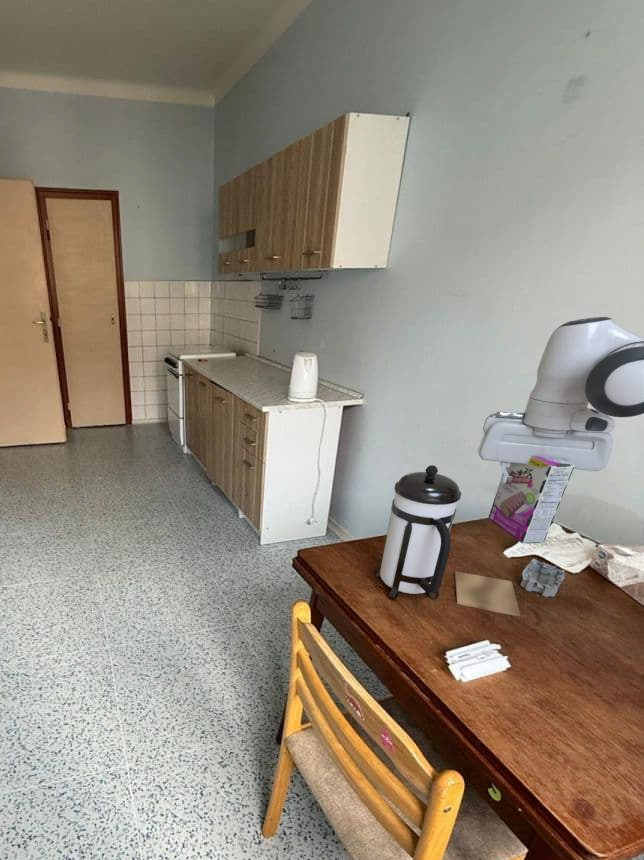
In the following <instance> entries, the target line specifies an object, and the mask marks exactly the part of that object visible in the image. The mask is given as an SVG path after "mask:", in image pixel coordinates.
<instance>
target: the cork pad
mask: <svg viewBox="0 0 644 860" xmlns="http://www.w3.org/2000/svg"><path fill="white" fill-rule="evenodd" d="M454 583H455V584H454V585H455V596H456V599H455V600H456V605H460V606H465V607H470V608H474V609H480V610H483V611H484V610H485V611H489V612H494V613H498V614H503V615H508V616H513V617H518V618H520V617H521V613H520V612H521V611H520V609H519V608H520V607H519V605H518V600H517V597H516V593H515V589H514V585H513V581H512V580H507V579H506V580H505V579H501V578H494V577H491V576H485V575H479V574H473V573H467V572H462V571H457V570H455V571H454Z"/></svg>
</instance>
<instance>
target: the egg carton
mask: <svg viewBox="0 0 644 860" xmlns="http://www.w3.org/2000/svg"><path fill="white" fill-rule="evenodd" d="M565 574H566V571H565V569H558V568H557V566H556V565H555V566H553V565H551V564H548V563H546V562H544V561H542V562H541V561H540V560H538V559H536V558H532V559H531V561H529V563H528V564H527V565H526V566H525V568H524V569H523V571H522V573H521V576H522V579H521V582H520V587H522V588H523V589H524V590H525V591H527V592H537V593H539V594H541V596H542V597H545V598H549V597H555V596H556V594H557V593H558V590H559V588H560V586H561V583H563V581H564V580H565V578H566V577H565Z"/></svg>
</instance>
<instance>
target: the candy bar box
mask: <svg viewBox="0 0 644 860" xmlns="http://www.w3.org/2000/svg"><path fill="white" fill-rule="evenodd" d="M574 467H575V465H574V464H573V463H570V462H568V461H566V460H563V459H557V458H549V457H540V456H532V457H531V458H530V461H529V462H528V464H519V463H511V464H510V467H509V468H507V467H506V470H507V472H508V473H511V474H512V475H513V479H512V480H511V481H512V483H511V484H503V483H502V477H503V473H502V475H501V477H500V480H499V485H498V487H497V490H496V492H495V496H494V499H493V502H492V506H491V508H490V511H489V514H488V517H487V519H488V520H489V521H490V522H491V523H493V524H494V525H495V526H497V527H498V528H500V529H501V530H503V531H504V532H505V533H507V535H510V536H511V537H512V538H514V539H515V540H517V541H518V542H519V543H520V544H526V545H527V544H544V543H545V541H546V539H547V536H548V533H549V532H550V529H551V526H552V524H553V521H554V518H555V516H556V514H557V511H558V509H559V506H560V504H561V501H562V499H563V496H564V493H565V491H566V489H567V486H568V484H569V482H570V480H571V479H570V478H571V476H572V474H573V472H572V471H574V470H575V469H574Z"/></svg>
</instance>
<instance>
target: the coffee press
mask: <svg viewBox="0 0 644 860" xmlns="http://www.w3.org/2000/svg"><path fill="white" fill-rule="evenodd" d="M437 467H438V466H436V465H428V466H427V467H426V468H425V471H415V472H414V471H413V472H410V473H407V474H405V475H403V476H401V478H400V479H398V481H397V482H396V483H395V484H394V492H395V493H394V498H393V499H392V503H391V507H390V508H391V509H390V510H391V513H390V517H389V521H388V526H387V527H388V528H387V532H386V537H385V541H384V542H385V543H384V547H383V553H382V556H381V557H382V558H381V562H380V566H379V568H378V569H377V570H375V571H374V573H373V575H374V576H375V577H376V578H380V579H381V580H382V582H383V583H384V584H385V585H386V586H387V587H389V588H391V590H390V593H389V594H388V599H390V600H394V601H396V600H397V598H398V596H399V594H400V592H401V593H404V594H411V595H419V594H424V593H425V594H427V595H428V596H429V598H430V599H432V600H437V599H438V598H439V596H440V592H439V589H440V587H441V585H442V581H443V578H444V576H445V575H444V574H445V571H446V568H447V567H446V566H447V563H448V560H449V555H450V550H451V542H452V541H451V530H452V526H453V522H454V519H455V517H456V513H457V508H456V507H457V504H458V502H459V501H460V499H461V498H462V492H461V490H460V487H459V485H458V483H457V481H456V480H455V481H454V479H452V478H451V477H449V476H446V475H444V474H440V473H438V472H439V469H438V468H437Z"/></svg>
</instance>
